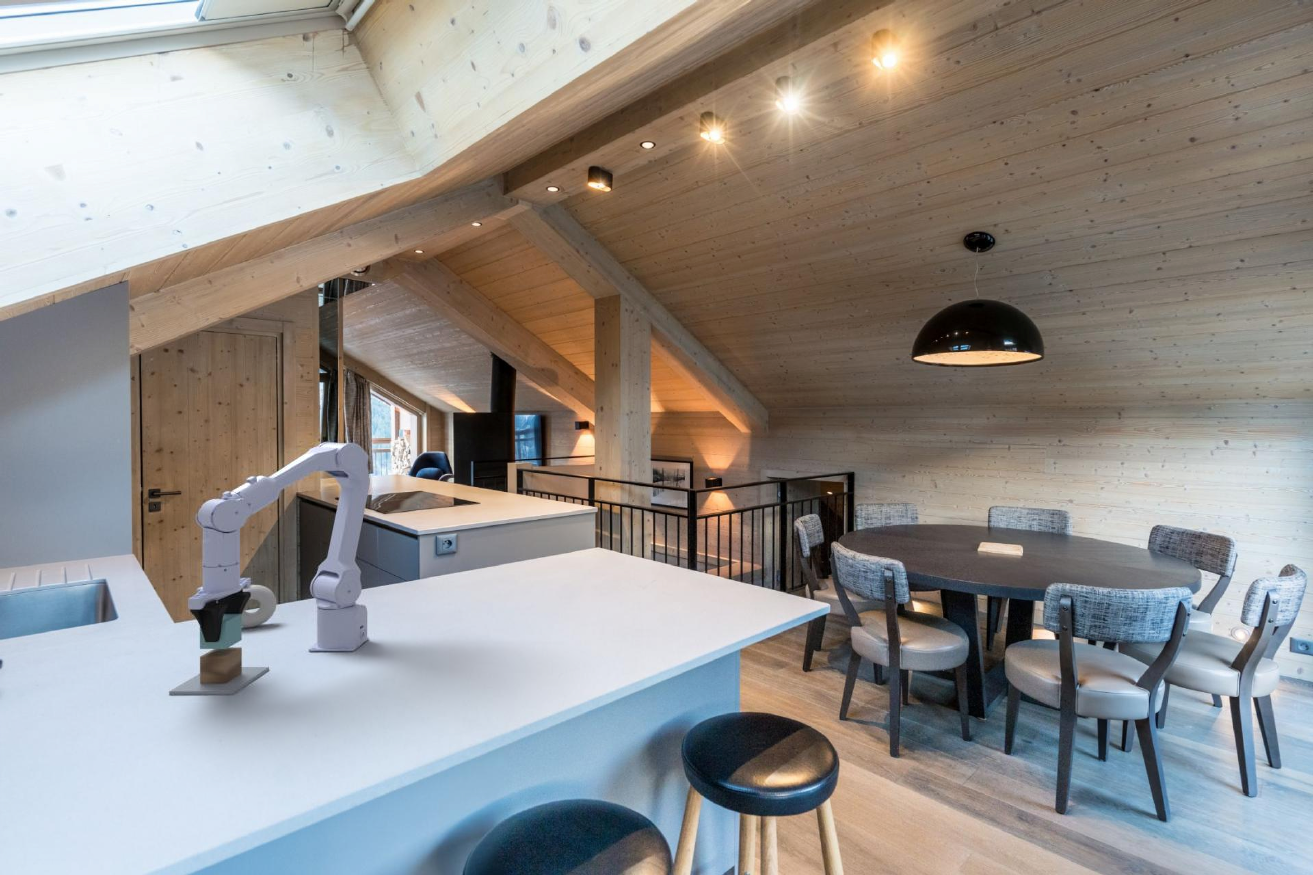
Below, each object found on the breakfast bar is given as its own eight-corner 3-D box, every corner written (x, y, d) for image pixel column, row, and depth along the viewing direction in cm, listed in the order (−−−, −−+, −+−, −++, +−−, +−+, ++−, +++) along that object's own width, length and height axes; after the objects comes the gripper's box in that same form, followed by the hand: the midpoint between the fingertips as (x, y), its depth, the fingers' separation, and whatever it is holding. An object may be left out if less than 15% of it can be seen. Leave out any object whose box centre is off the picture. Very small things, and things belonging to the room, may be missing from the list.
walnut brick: (241, 673, 118) (241, 647, 118) (225, 683, 114) (225, 656, 113) (216, 673, 118) (216, 647, 118) (200, 683, 113) (200, 656, 113)
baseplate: (269, 669, 121) (269, 666, 121) (232, 694, 110) (232, 691, 110) (211, 669, 121) (211, 666, 121) (169, 694, 110) (169, 691, 110)
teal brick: (241, 640, 118) (241, 613, 118) (225, 648, 113) (225, 621, 113) (216, 640, 118) (216, 613, 118) (199, 648, 113) (199, 621, 113)
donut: (225, 632, 142) (225, 589, 142) (226, 628, 145) (226, 585, 145) (276, 625, 147) (276, 583, 147) (276, 621, 150) (276, 580, 150)
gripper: (225, 555, 122) (225, 623, 123) (170, 573, 108) (170, 650, 108) (261, 555, 123) (261, 624, 123) (211, 573, 108) (212, 650, 108)
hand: (221, 636), depth 116 cm, fingers closed on teal brick, 5 cm apart
